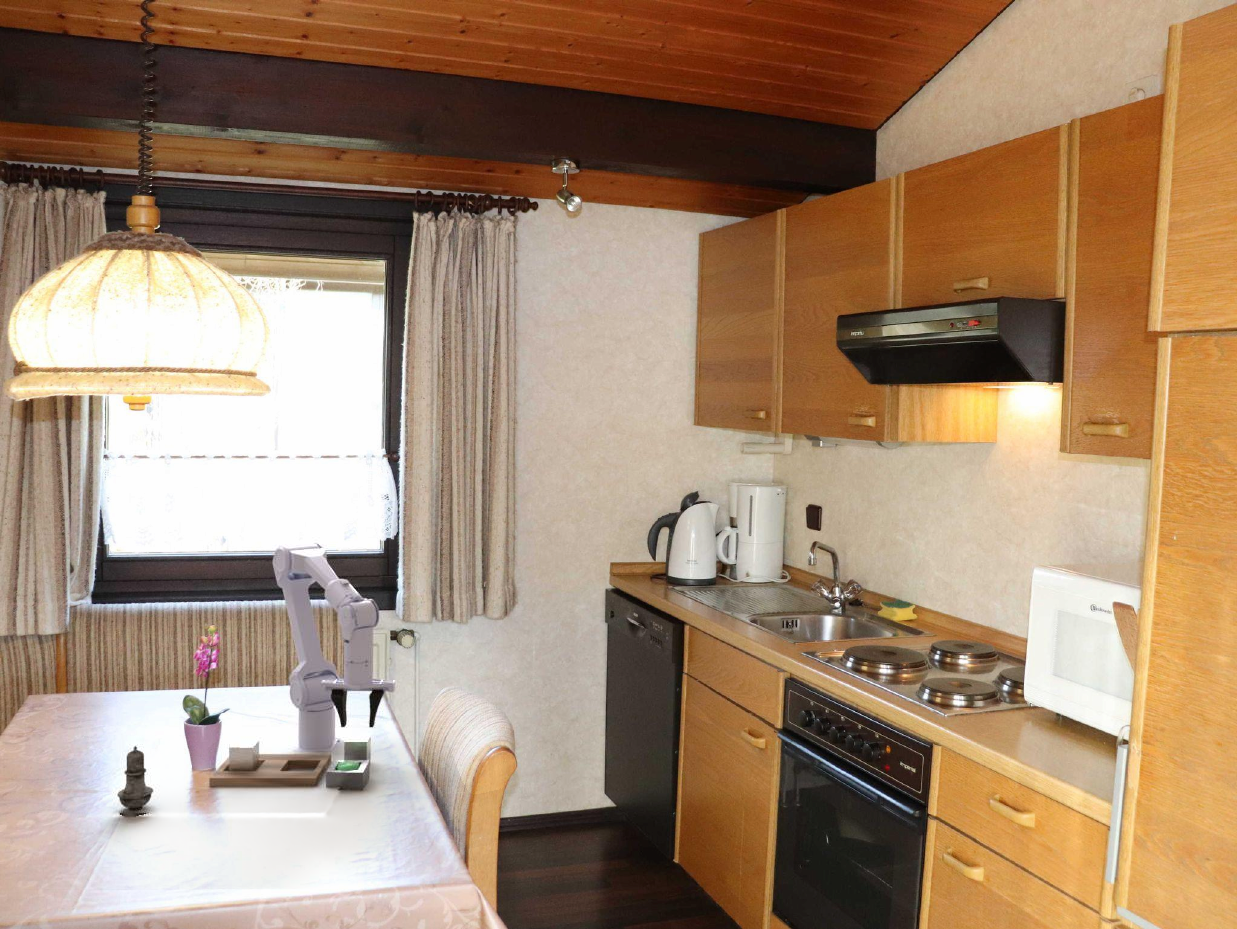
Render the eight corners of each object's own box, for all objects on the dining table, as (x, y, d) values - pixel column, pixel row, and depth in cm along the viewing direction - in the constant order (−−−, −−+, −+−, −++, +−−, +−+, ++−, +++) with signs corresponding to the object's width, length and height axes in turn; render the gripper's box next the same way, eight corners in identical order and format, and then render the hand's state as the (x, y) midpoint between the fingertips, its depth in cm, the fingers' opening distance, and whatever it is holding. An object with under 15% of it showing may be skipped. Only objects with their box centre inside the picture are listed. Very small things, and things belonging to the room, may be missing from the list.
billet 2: (348, 763, 218) (348, 734, 218) (370, 763, 218) (370, 734, 218) (344, 770, 213) (344, 741, 213) (366, 770, 214) (366, 741, 213)
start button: (339, 775, 208) (339, 761, 208) (360, 775, 208) (360, 761, 208) (335, 782, 204) (335, 767, 204) (356, 782, 204) (356, 768, 204)
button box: (333, 777, 209) (333, 760, 209) (369, 777, 210) (369, 760, 209) (325, 790, 202) (326, 772, 202) (362, 790, 203) (363, 772, 202)
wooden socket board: (231, 764, 215) (231, 753, 215) (331, 764, 216) (331, 754, 216) (209, 789, 201) (209, 777, 201) (315, 789, 203) (316, 778, 202)
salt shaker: (139, 819, 186) (139, 752, 186) (110, 816, 187) (109, 749, 187) (160, 807, 192) (160, 742, 191) (131, 804, 193) (131, 739, 193)
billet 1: (235, 769, 211) (236, 740, 210) (258, 769, 211) (259, 740, 211) (229, 777, 206) (229, 747, 206) (252, 777, 206) (252, 747, 206)
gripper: (317, 664, 210) (317, 731, 211) (391, 665, 211) (390, 732, 212) (325, 656, 217) (324, 721, 218) (396, 656, 218) (395, 721, 219)
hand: (357, 725), depth 215 cm, fingers open, 5 cm apart
